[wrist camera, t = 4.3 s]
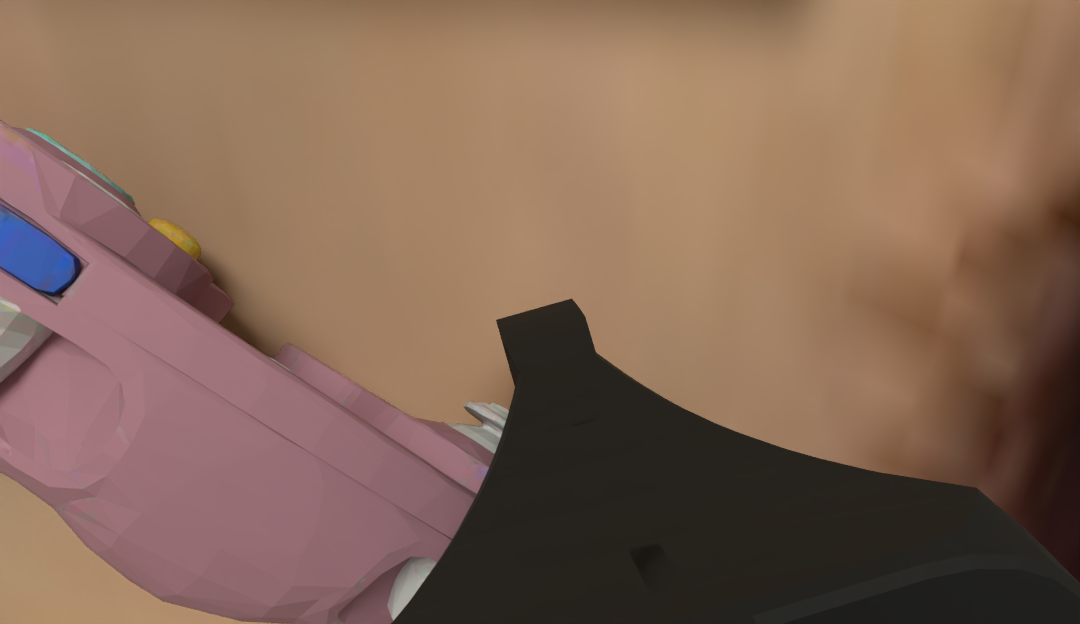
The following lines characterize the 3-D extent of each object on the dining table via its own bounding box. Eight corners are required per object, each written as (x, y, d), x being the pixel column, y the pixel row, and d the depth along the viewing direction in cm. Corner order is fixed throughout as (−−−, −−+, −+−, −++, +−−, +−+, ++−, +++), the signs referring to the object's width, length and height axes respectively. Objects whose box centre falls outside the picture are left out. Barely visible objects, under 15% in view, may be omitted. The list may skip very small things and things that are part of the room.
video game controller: (469, 420, 17) (713, 533, 11) (330, 633, 16) (511, 891, 10) (-34, 59, 12) (-109, -98, 6) (-276, 324, 11) (-645, 446, 5)
